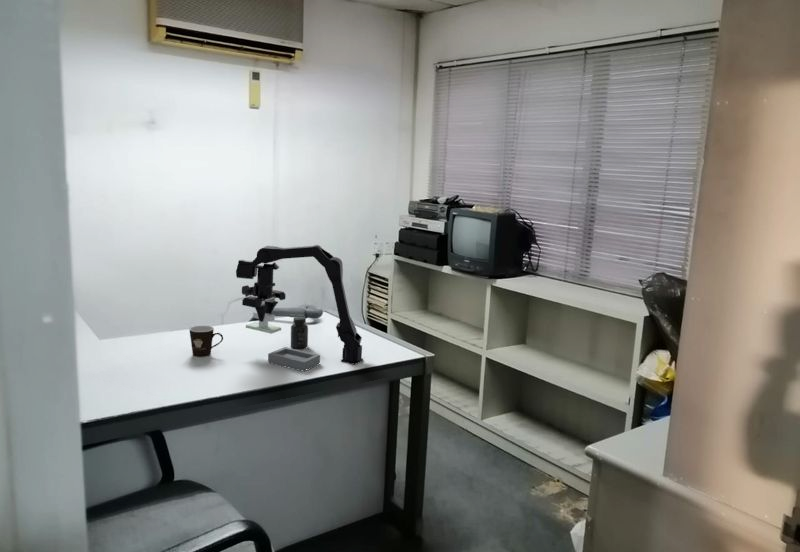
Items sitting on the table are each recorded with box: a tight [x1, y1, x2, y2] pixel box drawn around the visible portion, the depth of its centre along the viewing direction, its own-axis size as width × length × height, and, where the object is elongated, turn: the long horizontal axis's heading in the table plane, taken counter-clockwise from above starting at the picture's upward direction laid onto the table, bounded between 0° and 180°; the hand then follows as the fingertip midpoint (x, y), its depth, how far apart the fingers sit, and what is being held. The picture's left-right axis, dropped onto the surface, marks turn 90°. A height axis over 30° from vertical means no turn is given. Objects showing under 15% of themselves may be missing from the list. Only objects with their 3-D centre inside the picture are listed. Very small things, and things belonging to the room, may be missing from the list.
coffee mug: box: [188, 325, 224, 358], centre depth 225 cm, size 12×9×10 cm
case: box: [267, 346, 321, 372], centre depth 222 cm, size 16×10×4 cm, turn 64°
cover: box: [245, 311, 282, 334], centre depth 227 cm, size 12×6×6 cm, turn 64°
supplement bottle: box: [290, 316, 309, 350], centre depth 241 cm, size 7×7×12 cm
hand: (263, 320), depth 227 cm, fingers closed on cover, 2 cm apart
